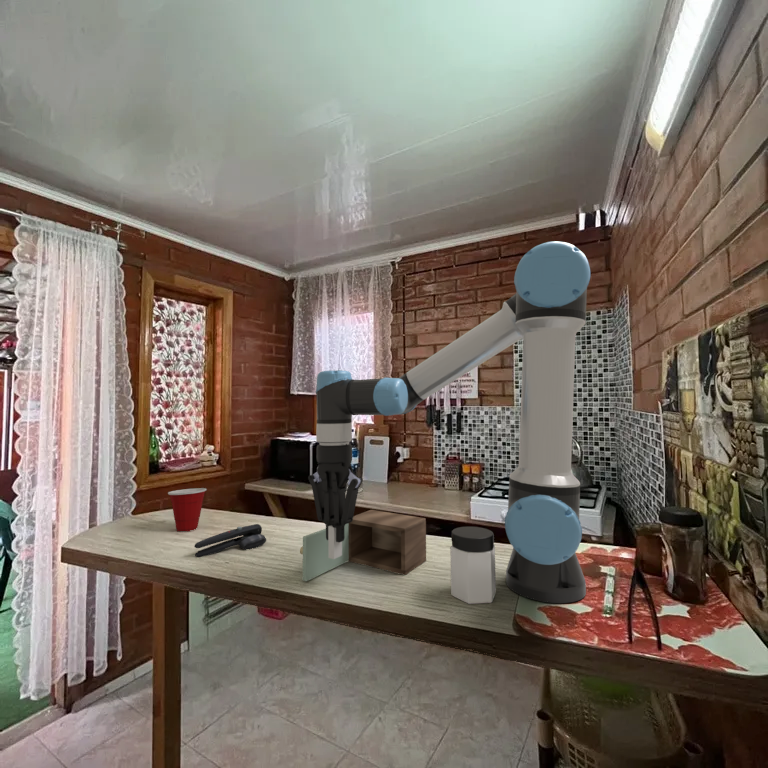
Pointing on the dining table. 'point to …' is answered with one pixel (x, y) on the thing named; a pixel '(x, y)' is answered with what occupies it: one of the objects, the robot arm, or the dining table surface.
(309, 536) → the door
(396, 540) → the case
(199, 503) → the plastic cup
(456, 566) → the jar
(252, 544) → the can opener
